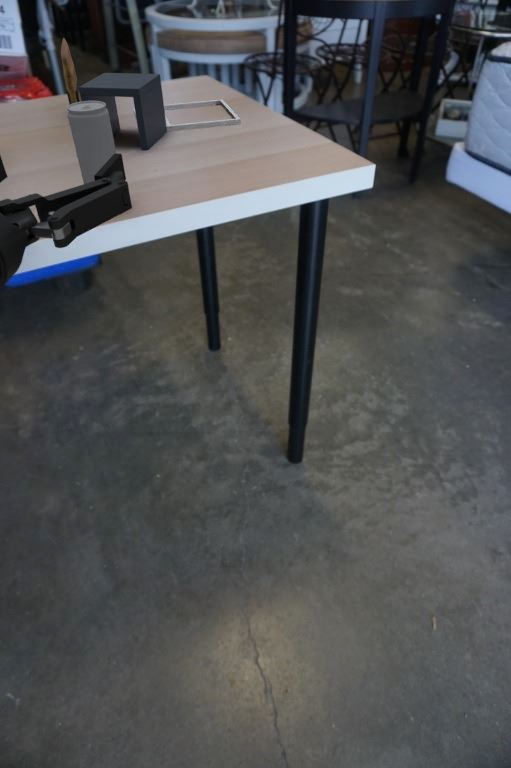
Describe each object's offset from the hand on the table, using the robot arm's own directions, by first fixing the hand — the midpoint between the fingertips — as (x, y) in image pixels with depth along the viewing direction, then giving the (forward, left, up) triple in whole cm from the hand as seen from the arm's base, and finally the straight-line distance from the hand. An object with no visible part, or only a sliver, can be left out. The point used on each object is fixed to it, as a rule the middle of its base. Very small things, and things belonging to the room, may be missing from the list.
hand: (59, 165), depth 58 cm
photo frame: (-2, +51, -9) cm, 52 cm away
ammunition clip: (-24, +51, -9) cm, 57 cm away
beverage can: (-1, +11, -9) cm, 14 cm away
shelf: (-8, +37, -9) cm, 39 cm away
